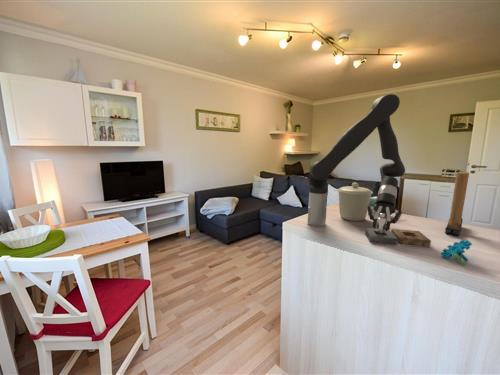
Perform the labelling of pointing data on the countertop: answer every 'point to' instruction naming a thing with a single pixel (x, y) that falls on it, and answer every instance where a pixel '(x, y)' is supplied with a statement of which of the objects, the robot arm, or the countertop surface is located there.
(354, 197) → the canister
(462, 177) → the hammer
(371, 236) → the socket block
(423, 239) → the rack block
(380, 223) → the steel pin
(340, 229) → the countertop surface
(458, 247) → the blue pixel flower
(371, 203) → the light bulb box
